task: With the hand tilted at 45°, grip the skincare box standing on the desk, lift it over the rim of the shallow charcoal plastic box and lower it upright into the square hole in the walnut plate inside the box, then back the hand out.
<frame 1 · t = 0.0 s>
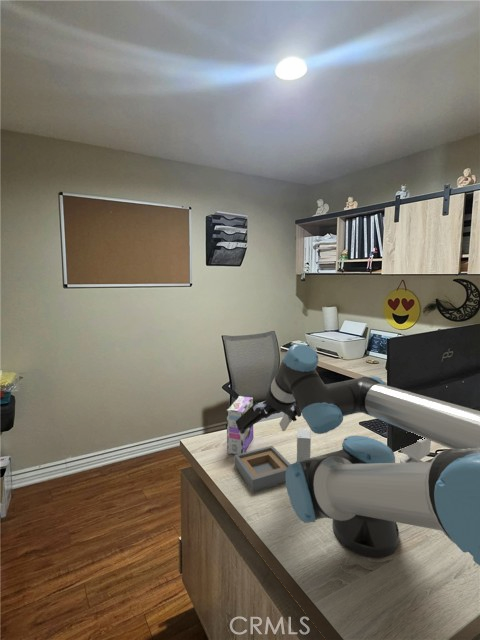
hand: (262, 431, 99), 15 cm above the table, tool tilted 35°, fingers open, 13 cm apart
skincare box: (303, 468, 106), on the table
candy box: (241, 446, 121), on the table
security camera: (413, 464, 108), on the table
bore box: (263, 472, 104), on the table
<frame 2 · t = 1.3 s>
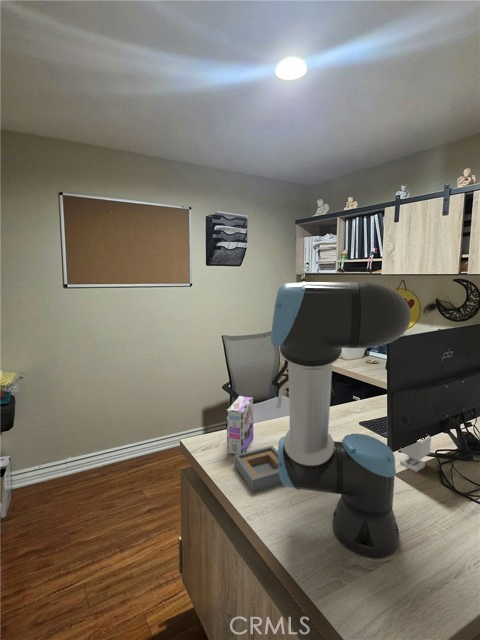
hand: (298, 412, 108), 17 cm above the table, tool pointing down, fingers open, 13 cm apart
nothing on the table moved.
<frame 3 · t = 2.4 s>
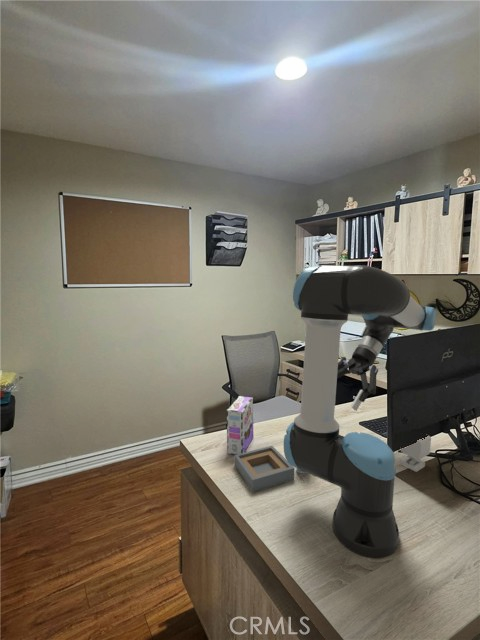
hand: (337, 401, 112), 19 cm above the table, tool tilted 45°, fingers open, 13 cm apart
nothing on the table moved.
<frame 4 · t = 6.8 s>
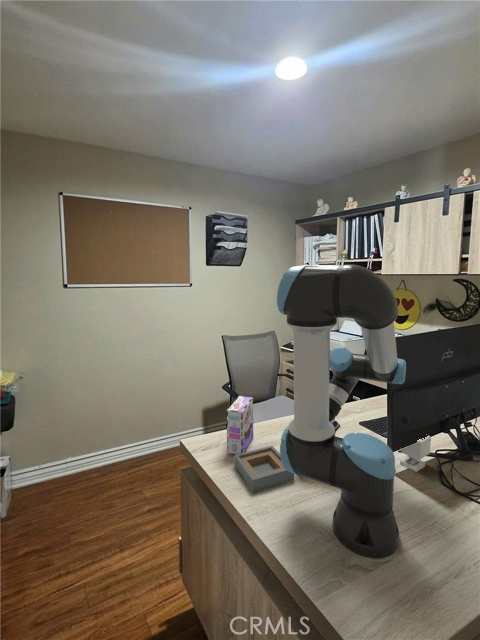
hand: (295, 461, 104), 4 cm above the table, tool tilted 45°, fingers closed on skincare box, 7 cm apart
skincare box: (303, 468, 107), on the table, touching gripper
everything else where it was.
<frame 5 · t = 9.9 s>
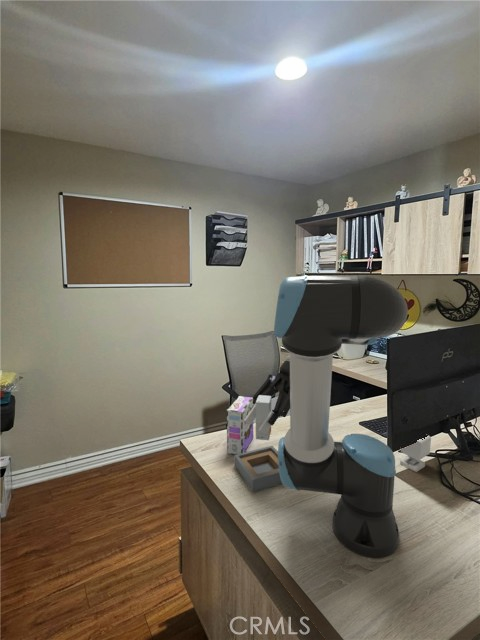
hand: (254, 427, 100), 16 cm above the table, tool tilted 45°, fingers closed on skincare box, 7 cm apart
skincare box: (263, 435, 102), point 12 cm above the table, touching gripper
everything else where it was.
when the fingers open (5 cm above the table, at t = 12.9 s): skincare box drops 1 cm, resting on bore box.
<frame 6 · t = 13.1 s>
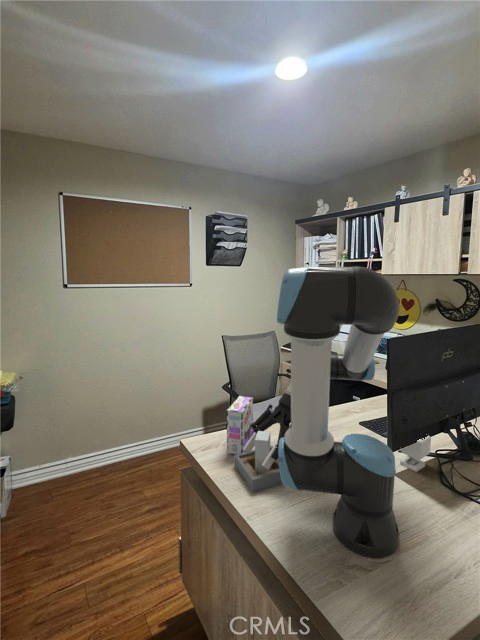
hand: (255, 459, 102), 6 cm above the table, tool tilted 45°, fingers open, 9 cm apart
skincare box: (263, 471, 104), resting on bore box
everything else where it was.
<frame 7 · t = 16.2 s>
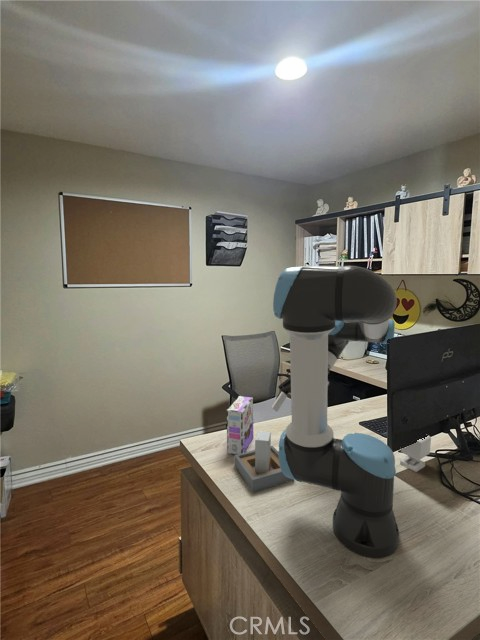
hand: (287, 416, 107), 16 cm above the table, tool tilted 45°, fingers open, 13 cm apart
nothing on the table moved.
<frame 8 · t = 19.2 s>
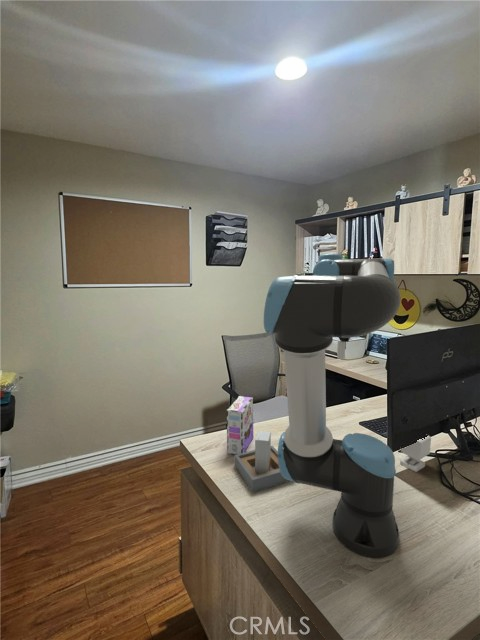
hand: (327, 362, 113), 32 cm above the table, tool pointing down, fingers open, 13 cm apart
nothing on the table moved.
at the end: skincare box 0.2 cm off-centre on the bore box, point 0.4 cm above the bore box's base; skincare box tilted 0°; the gripper is holding nothing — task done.
